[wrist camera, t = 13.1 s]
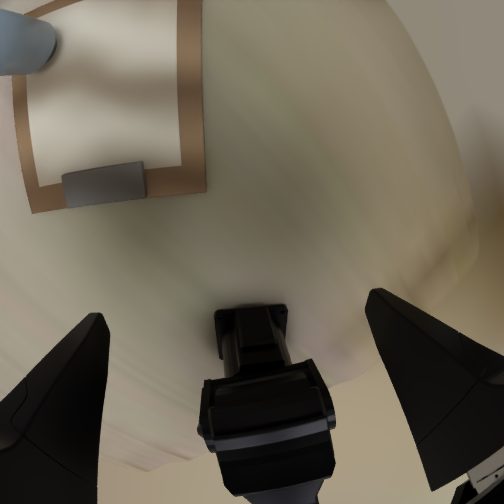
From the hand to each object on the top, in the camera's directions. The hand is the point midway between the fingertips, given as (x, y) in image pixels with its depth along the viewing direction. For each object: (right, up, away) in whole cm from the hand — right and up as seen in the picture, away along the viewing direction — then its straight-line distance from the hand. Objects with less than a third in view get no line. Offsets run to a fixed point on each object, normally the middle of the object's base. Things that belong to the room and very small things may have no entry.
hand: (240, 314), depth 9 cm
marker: (-14, +15, +2) cm, 21 cm away
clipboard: (-10, +13, +6) cm, 17 cm away
